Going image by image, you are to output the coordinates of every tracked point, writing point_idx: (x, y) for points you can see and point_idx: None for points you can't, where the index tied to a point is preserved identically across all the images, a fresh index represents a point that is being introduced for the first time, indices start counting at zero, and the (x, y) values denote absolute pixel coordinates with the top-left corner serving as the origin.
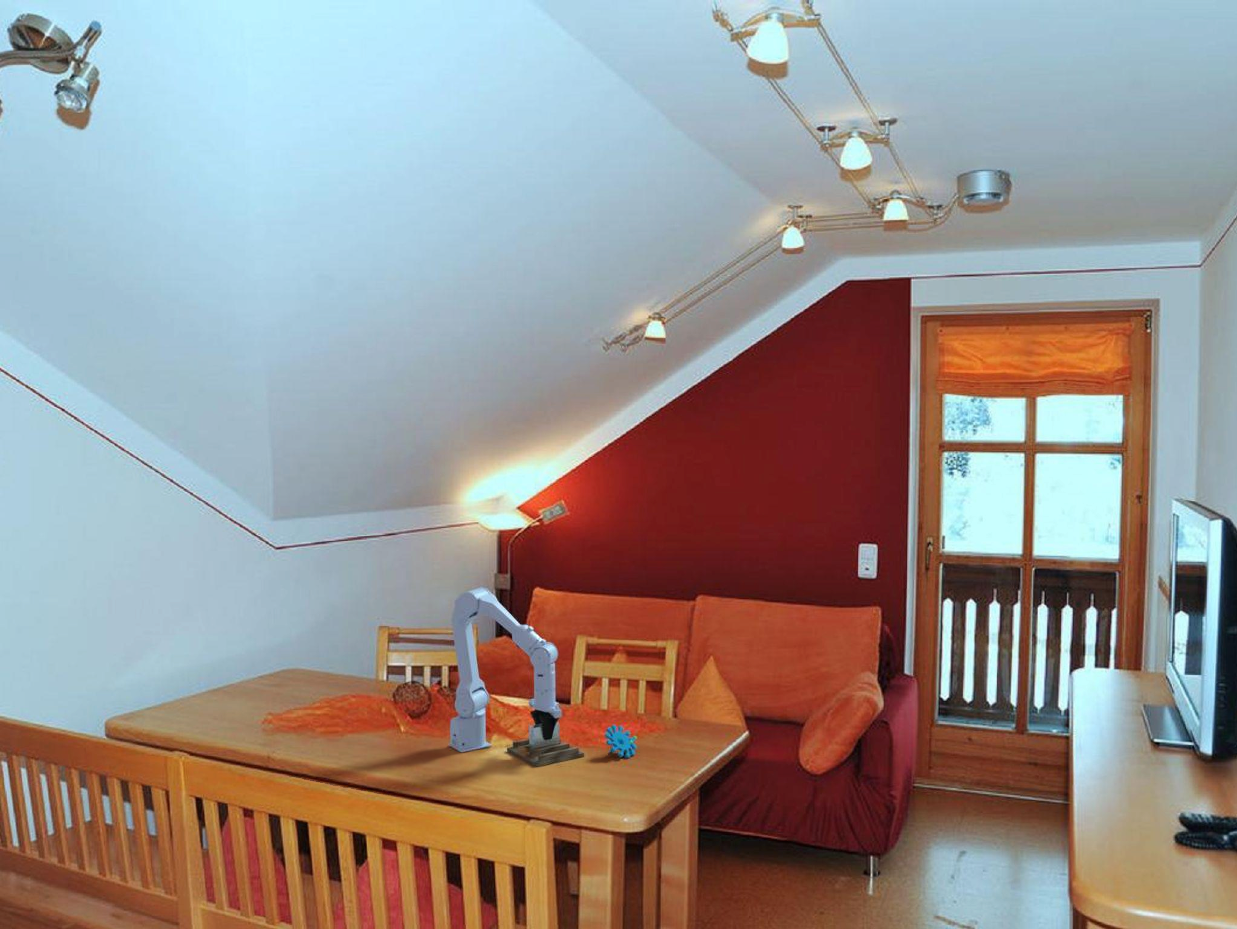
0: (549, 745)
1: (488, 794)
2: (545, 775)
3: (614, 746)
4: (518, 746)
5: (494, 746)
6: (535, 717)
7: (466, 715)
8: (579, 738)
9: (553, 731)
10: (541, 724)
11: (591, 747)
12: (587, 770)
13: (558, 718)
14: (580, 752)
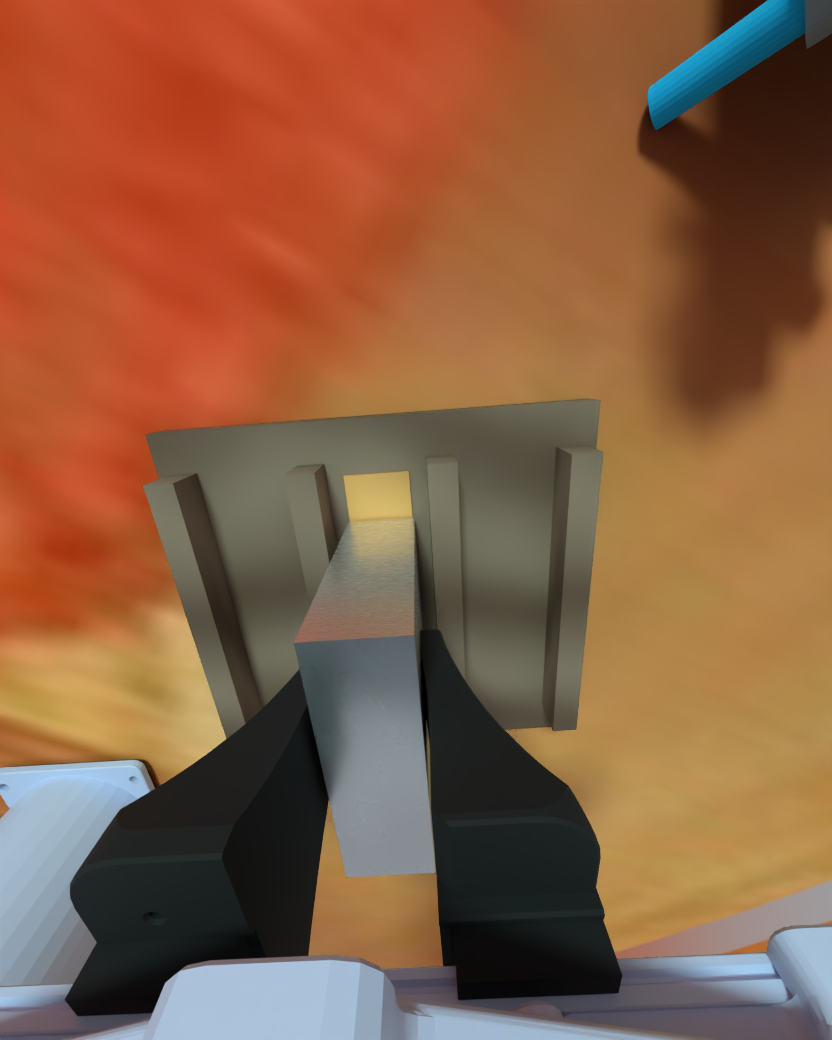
0: (420, 608)
1: (705, 917)
2: (697, 717)
3: (765, 55)
4: (258, 703)
5: (139, 743)
6: (309, 924)
7: None
8: (136, 178)
9: (455, 665)
10: (362, 792)
11: (427, 218)
12: (818, 514)
13: (550, 774)
14: (574, 421)
